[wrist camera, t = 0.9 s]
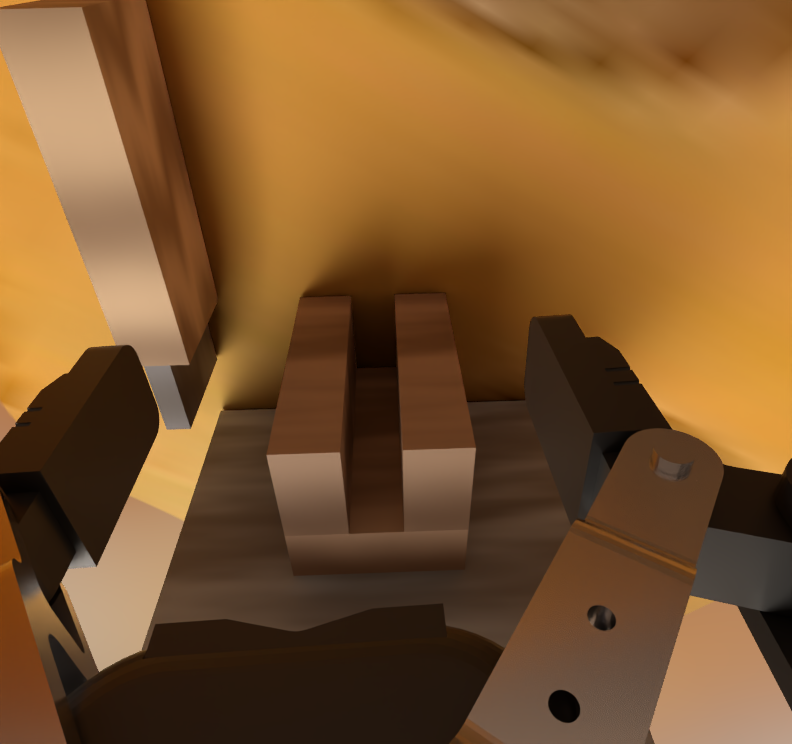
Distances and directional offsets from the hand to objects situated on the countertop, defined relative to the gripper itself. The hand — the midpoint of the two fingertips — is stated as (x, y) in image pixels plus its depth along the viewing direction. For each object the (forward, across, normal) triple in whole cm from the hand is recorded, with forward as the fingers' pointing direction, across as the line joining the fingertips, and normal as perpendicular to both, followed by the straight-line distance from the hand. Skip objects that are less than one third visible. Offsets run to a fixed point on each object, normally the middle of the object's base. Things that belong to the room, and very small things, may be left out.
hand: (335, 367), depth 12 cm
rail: (+18, +10, +2) cm, 21 cm away
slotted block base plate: (+18, 0, +12) cm, 22 cm away
